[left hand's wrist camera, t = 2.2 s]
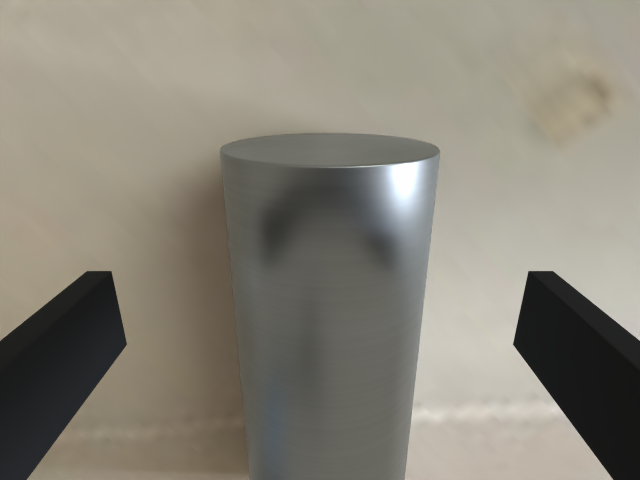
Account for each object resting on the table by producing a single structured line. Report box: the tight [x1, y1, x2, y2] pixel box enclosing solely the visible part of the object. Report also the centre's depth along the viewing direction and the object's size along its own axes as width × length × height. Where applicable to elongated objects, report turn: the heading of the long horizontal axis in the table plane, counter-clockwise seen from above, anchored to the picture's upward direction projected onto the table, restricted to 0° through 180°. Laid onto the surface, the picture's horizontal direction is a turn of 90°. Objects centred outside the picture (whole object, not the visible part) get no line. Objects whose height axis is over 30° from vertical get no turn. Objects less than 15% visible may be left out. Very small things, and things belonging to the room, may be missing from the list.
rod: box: [220, 133, 440, 480], centre depth 20 cm, size 23×8×8 cm, turn 0°
